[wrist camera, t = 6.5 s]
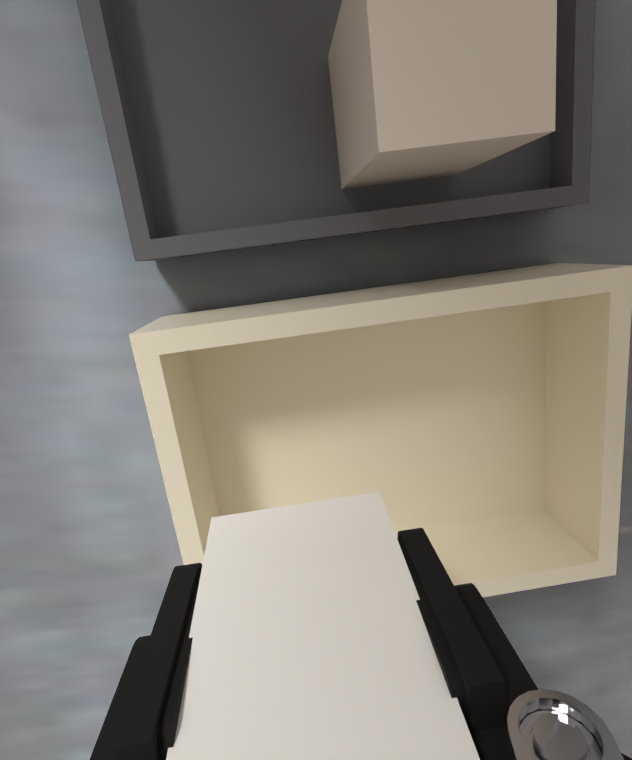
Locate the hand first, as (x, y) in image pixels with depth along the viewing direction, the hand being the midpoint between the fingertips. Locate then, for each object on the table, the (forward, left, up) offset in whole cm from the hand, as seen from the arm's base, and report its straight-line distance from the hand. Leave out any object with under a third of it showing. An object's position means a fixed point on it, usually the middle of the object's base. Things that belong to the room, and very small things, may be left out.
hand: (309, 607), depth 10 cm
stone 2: (-11, +5, -8) cm, 15 cm away
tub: (0, +3, -9) cm, 10 cm away
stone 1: (0, 0, -1) cm, 1 cm away
